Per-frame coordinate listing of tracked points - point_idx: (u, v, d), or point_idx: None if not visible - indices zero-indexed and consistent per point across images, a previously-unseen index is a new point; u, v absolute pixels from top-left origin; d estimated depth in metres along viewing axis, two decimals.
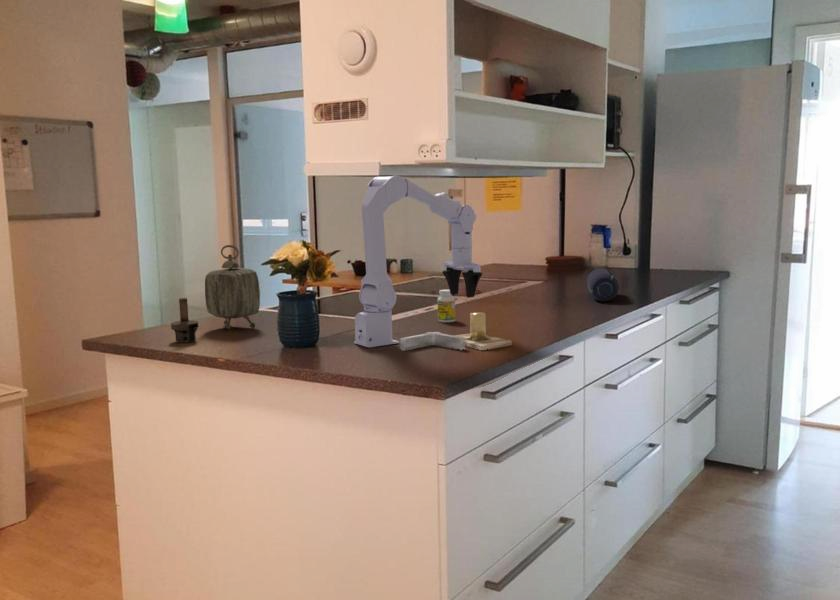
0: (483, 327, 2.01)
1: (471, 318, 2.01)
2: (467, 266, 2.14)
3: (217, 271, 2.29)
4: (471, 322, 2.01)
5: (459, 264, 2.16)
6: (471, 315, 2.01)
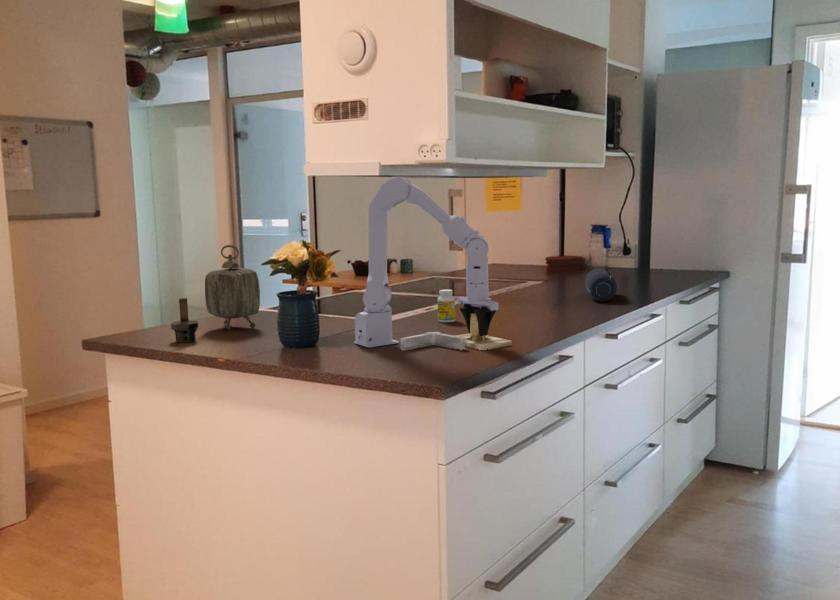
0: None
1: (471, 318, 2.01)
2: (483, 303, 1.97)
3: (217, 271, 2.29)
4: (471, 322, 2.01)
5: (475, 301, 1.99)
6: (471, 315, 2.01)
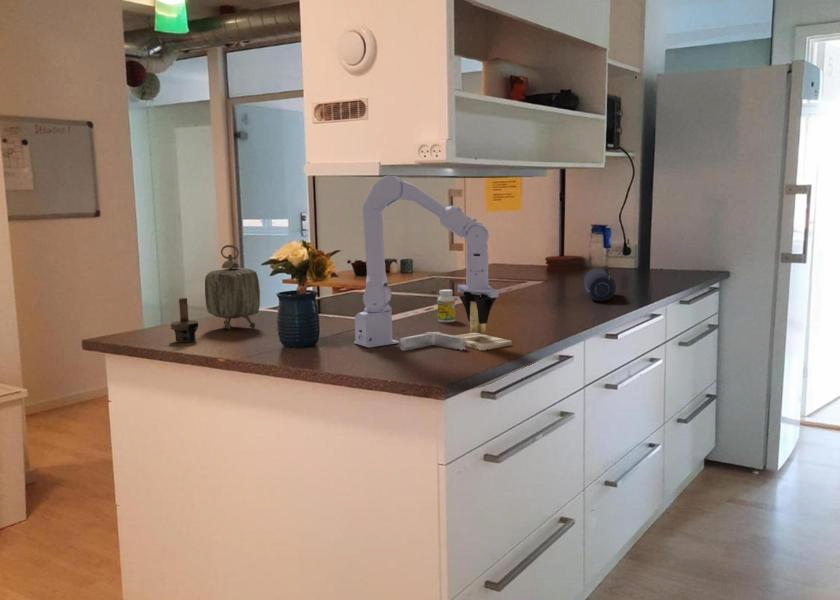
0: None
1: (471, 306, 2.01)
2: (483, 291, 1.97)
3: (217, 271, 2.29)
4: (471, 310, 2.01)
5: (474, 288, 1.98)
6: (471, 303, 2.01)
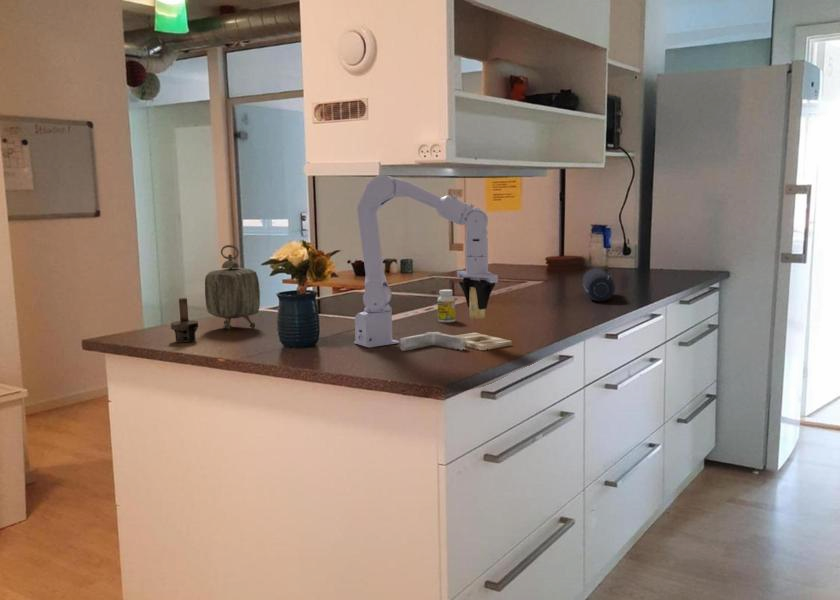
0: None
1: (470, 291, 2.00)
2: (483, 276, 1.96)
3: (217, 271, 2.29)
4: (470, 295, 2.00)
5: (474, 274, 1.98)
6: (470, 288, 2.00)
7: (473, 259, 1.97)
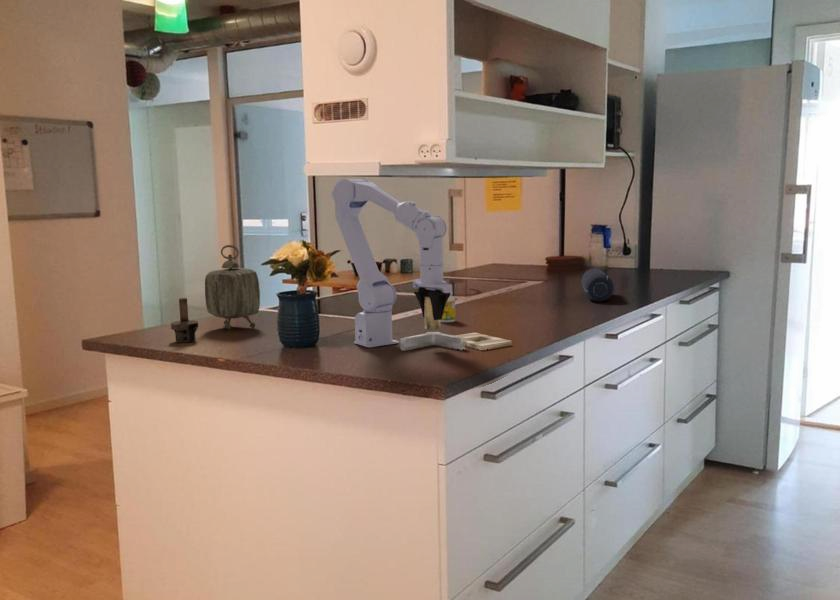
0: None
1: (425, 301, 1.95)
2: (437, 286, 1.91)
3: (217, 271, 2.29)
4: (425, 306, 1.95)
5: (428, 283, 1.92)
6: (425, 298, 1.95)
7: (427, 268, 1.92)
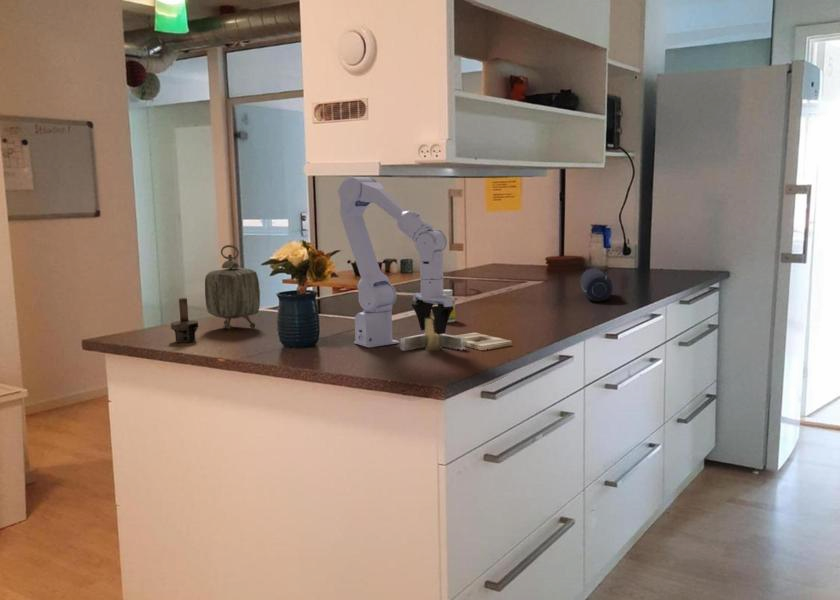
0: None
1: (425, 323, 1.96)
2: (437, 300, 1.91)
3: (217, 271, 2.29)
4: (425, 327, 1.96)
5: (428, 297, 1.93)
6: (425, 320, 1.96)
7: (427, 282, 1.93)
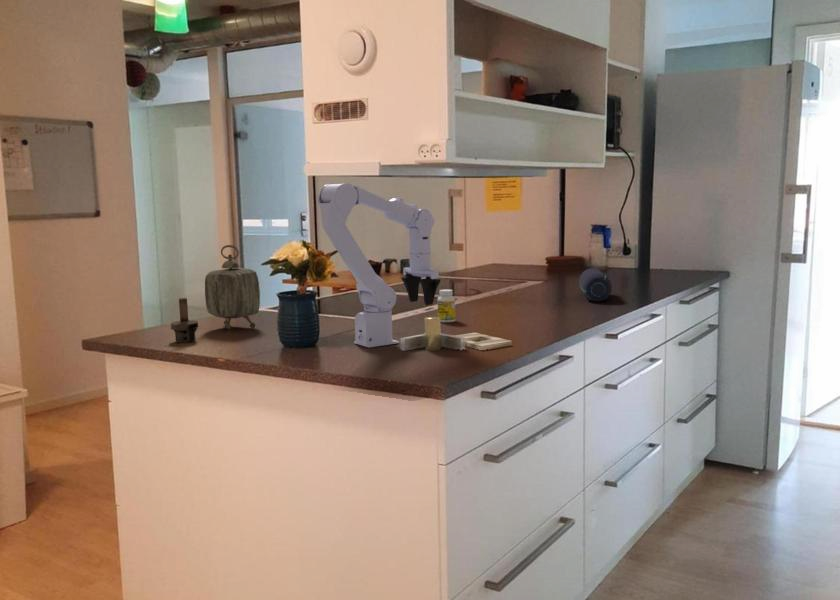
0: (438, 332, 1.96)
1: (425, 323, 1.96)
2: (424, 272, 2.06)
3: (217, 271, 2.29)
4: (425, 327, 1.96)
5: (417, 270, 2.08)
6: (425, 320, 1.96)
7: (416, 256, 2.08)
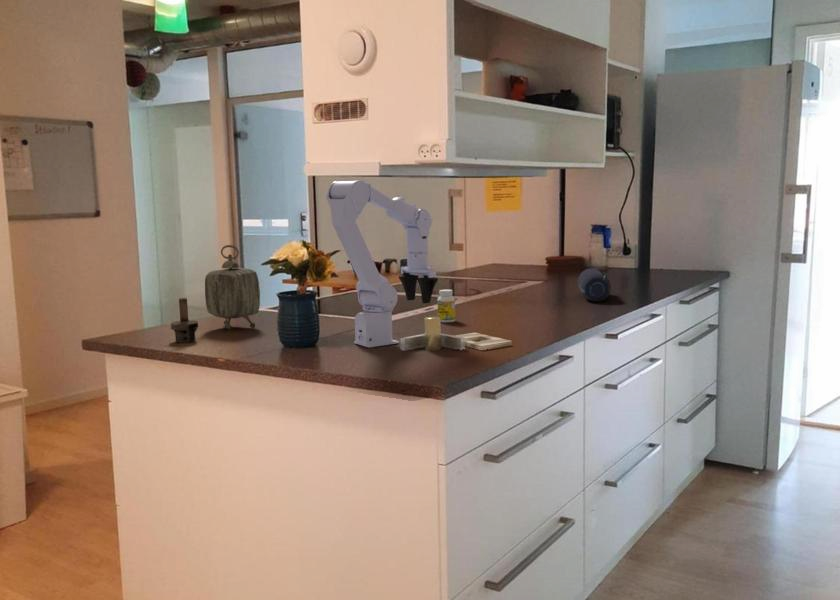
0: (438, 332, 1.96)
1: (425, 323, 1.96)
2: (422, 271, 2.10)
3: (217, 271, 2.29)
4: (425, 327, 1.96)
5: (414, 269, 2.11)
6: (425, 320, 1.96)
7: (413, 255, 2.11)
